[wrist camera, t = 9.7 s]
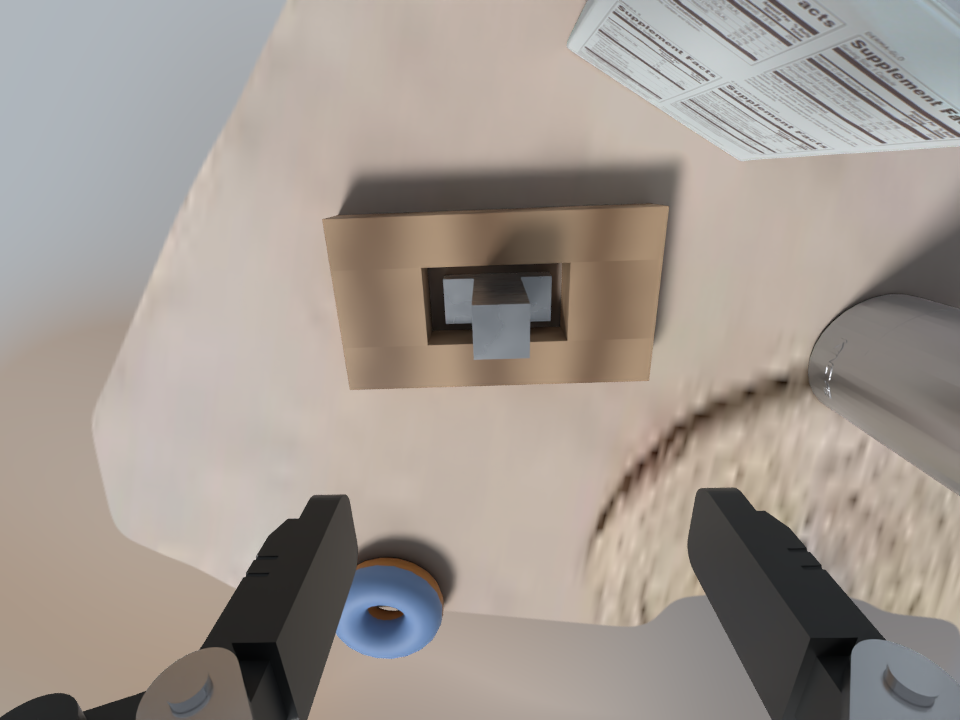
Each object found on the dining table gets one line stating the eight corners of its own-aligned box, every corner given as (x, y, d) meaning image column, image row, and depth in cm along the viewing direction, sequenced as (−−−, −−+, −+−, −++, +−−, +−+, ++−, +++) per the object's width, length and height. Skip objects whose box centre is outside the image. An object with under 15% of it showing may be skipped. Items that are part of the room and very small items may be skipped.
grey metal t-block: (548, 271, 30) (569, 302, 23) (547, 314, 31) (567, 357, 24) (444, 274, 30) (432, 306, 23) (447, 317, 32) (436, 360, 24)
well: (651, 203, 29) (669, 206, 26) (634, 363, 33) (648, 380, 30) (337, 215, 29) (322, 219, 26) (361, 371, 33) (349, 389, 30)
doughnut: (344, 539, 39) (330, 588, 35) (456, 559, 40) (455, 608, 36) (330, 608, 43) (316, 658, 39) (431, 623, 45) (428, 673, 41)
